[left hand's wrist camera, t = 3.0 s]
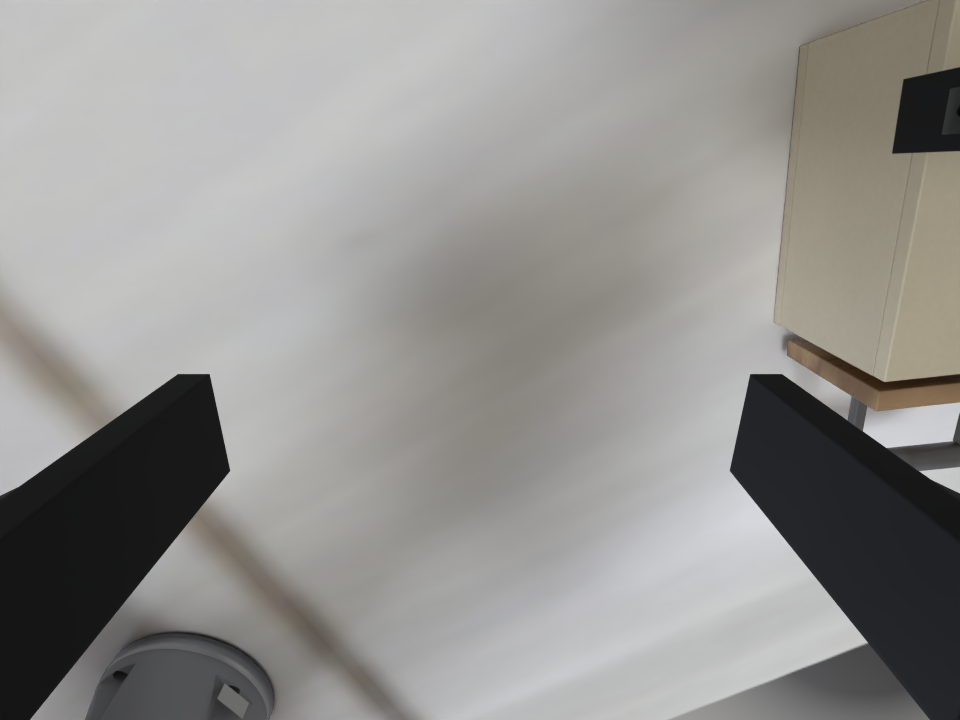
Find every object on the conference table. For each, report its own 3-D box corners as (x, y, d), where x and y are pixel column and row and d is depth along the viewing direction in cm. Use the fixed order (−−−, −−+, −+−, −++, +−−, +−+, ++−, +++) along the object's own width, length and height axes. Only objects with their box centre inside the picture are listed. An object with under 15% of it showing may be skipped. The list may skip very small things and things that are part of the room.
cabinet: (916, 306, 35) (1083, 361, 25) (773, 322, 35) (884, 382, 26) (973, 22, 29) (1222, -48, 19) (799, 45, 29) (958, -12, 19)
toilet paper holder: (896, 417, 37) (1010, 486, 29) (778, 429, 37) (859, 501, 29) (963, 87, 29) (1144, 60, 21) (813, 107, 29) (936, 87, 22)
